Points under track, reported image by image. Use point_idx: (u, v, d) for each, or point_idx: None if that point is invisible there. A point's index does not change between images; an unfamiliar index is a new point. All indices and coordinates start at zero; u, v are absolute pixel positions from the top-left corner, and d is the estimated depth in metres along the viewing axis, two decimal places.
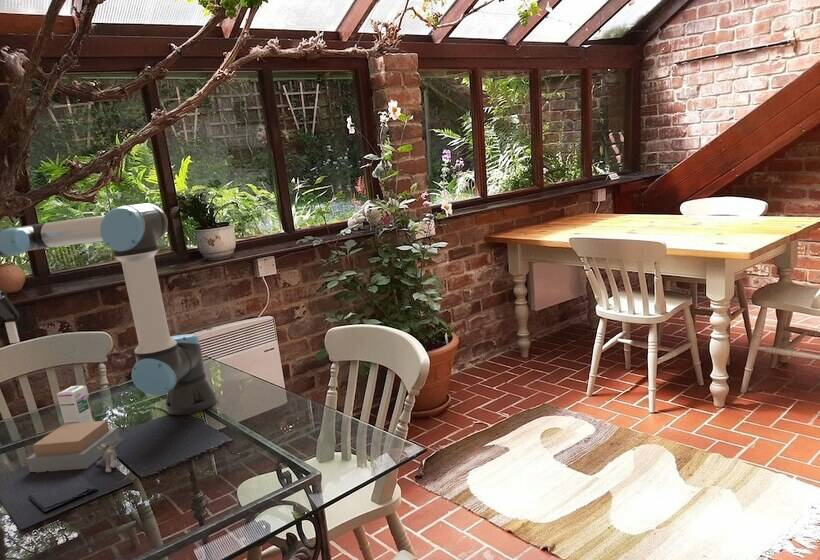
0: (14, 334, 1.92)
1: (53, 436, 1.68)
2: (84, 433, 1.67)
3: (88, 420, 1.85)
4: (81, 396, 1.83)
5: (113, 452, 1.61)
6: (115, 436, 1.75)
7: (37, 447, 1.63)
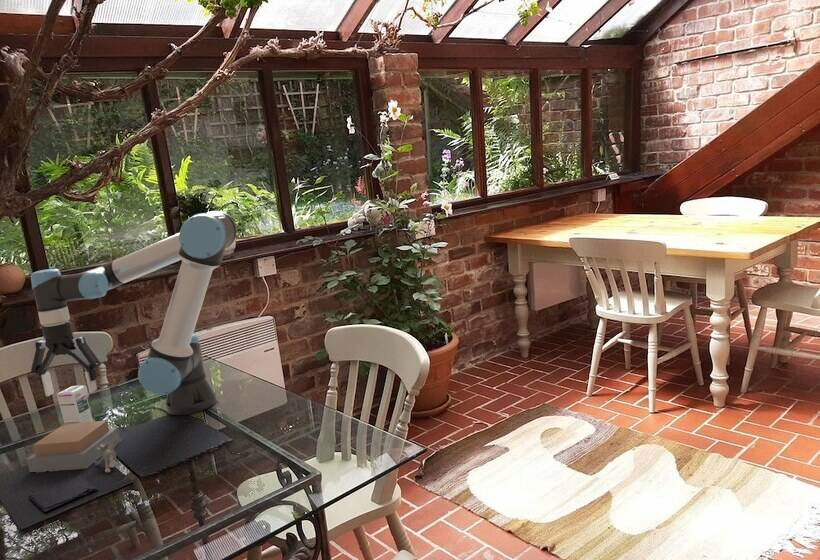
0: None
1: (53, 436, 1.68)
2: (84, 433, 1.67)
3: (88, 420, 1.85)
4: (81, 396, 1.83)
5: (112, 452, 1.61)
6: (115, 436, 1.75)
7: (37, 447, 1.63)
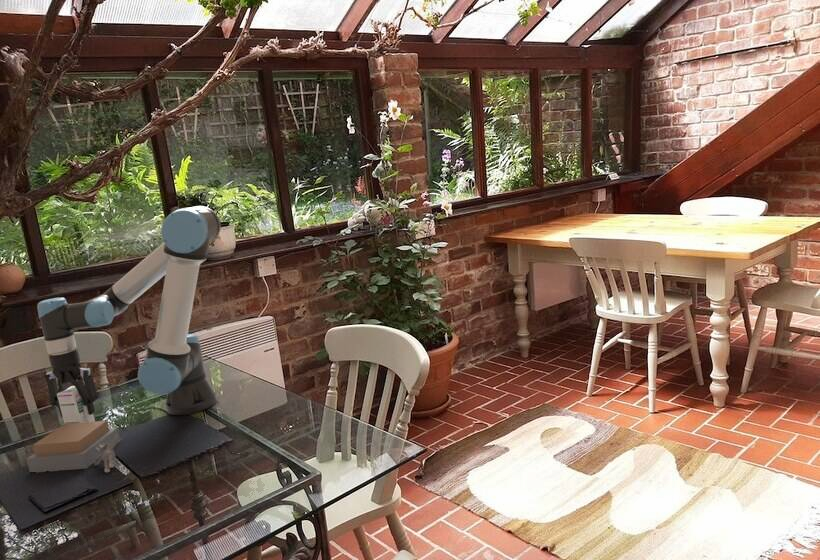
0: None
1: (53, 436, 1.68)
2: (84, 433, 1.67)
3: None
4: None
5: (111, 452, 1.61)
6: (115, 436, 1.75)
7: (37, 447, 1.63)
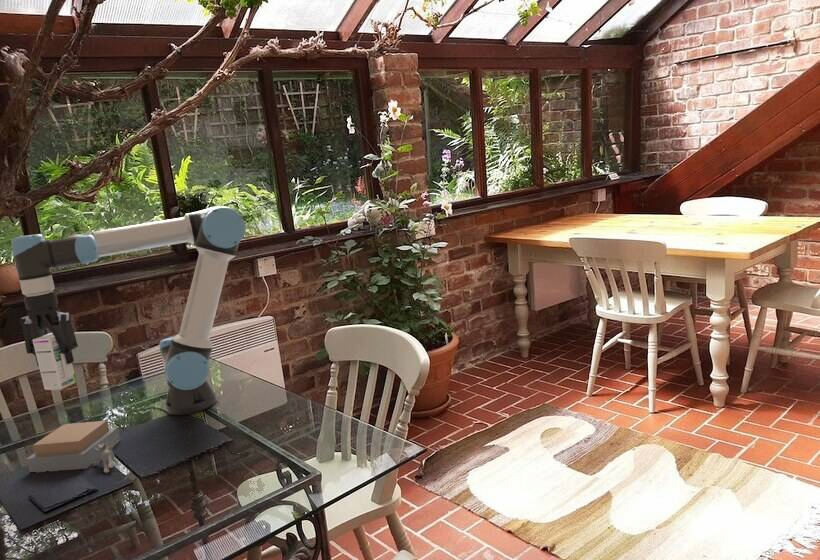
0: None
1: (53, 436, 1.68)
2: (84, 433, 1.67)
3: None
4: None
5: (111, 452, 1.61)
6: (115, 436, 1.75)
7: (37, 447, 1.63)
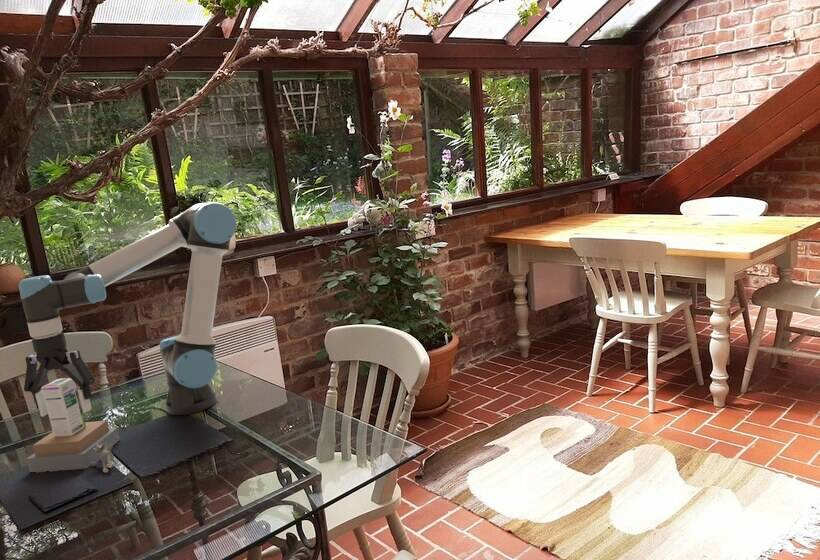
0: None
1: (53, 436, 1.68)
2: (84, 433, 1.67)
3: (76, 416, 1.68)
4: (68, 389, 1.66)
5: (109, 452, 1.61)
6: (115, 436, 1.75)
7: (37, 447, 1.63)
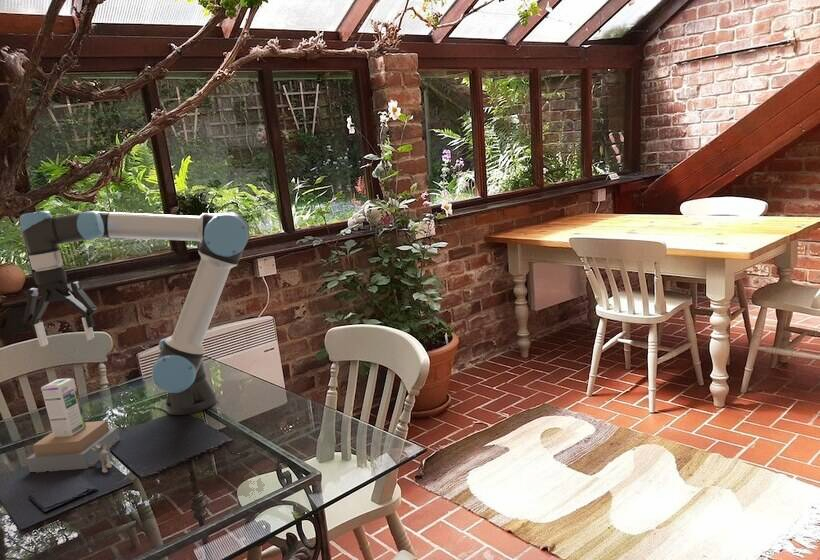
0: None
1: (53, 436, 1.68)
2: (84, 433, 1.67)
3: (76, 416, 1.68)
4: (68, 389, 1.66)
5: (108, 452, 1.61)
6: (115, 436, 1.75)
7: (37, 447, 1.63)
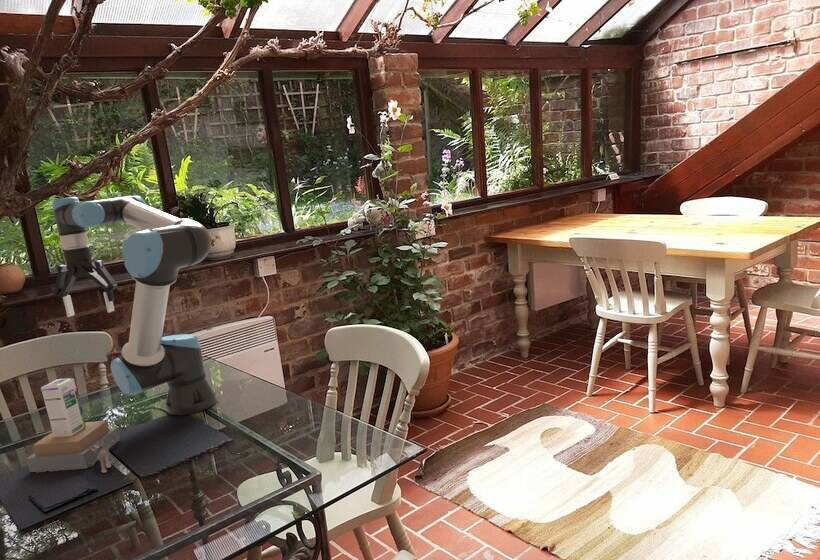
0: None
1: (53, 436, 1.68)
2: (84, 433, 1.67)
3: (76, 416, 1.68)
4: (68, 389, 1.66)
5: (107, 453, 1.61)
6: (115, 436, 1.75)
7: (37, 447, 1.63)
